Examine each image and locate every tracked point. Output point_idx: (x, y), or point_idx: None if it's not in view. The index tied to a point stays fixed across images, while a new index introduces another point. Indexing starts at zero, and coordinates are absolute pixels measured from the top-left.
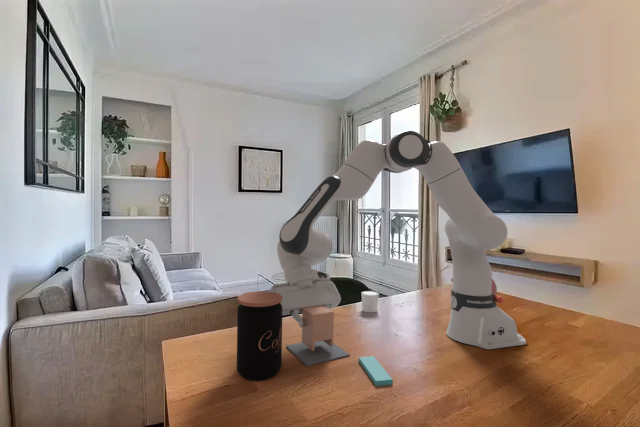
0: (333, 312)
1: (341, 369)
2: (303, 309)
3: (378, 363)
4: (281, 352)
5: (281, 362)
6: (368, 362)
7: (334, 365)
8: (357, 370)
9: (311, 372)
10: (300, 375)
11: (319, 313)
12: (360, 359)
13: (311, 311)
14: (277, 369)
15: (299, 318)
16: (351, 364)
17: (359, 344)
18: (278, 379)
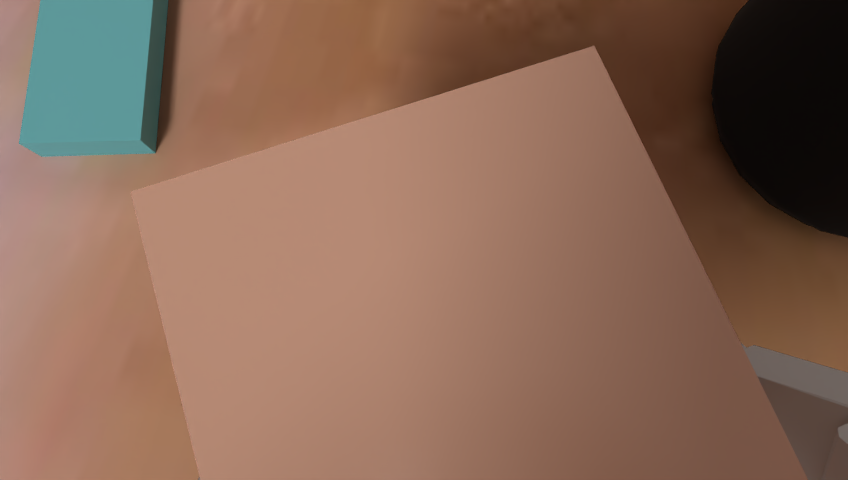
0: (147, 195)
1: (311, 67)
2: (792, 459)
3: (42, 33)
4: (776, 21)
5: (725, 73)
6: (105, 57)
7: (343, 121)
8: (213, 42)
9: (507, 58)
10: (576, 35)
11: (460, 116)
12: (142, 105)
13: (614, 260)
14: (737, 16)
15: (762, 348)
16: (223, 119)
17: (9, 463)
18: (702, 12)
